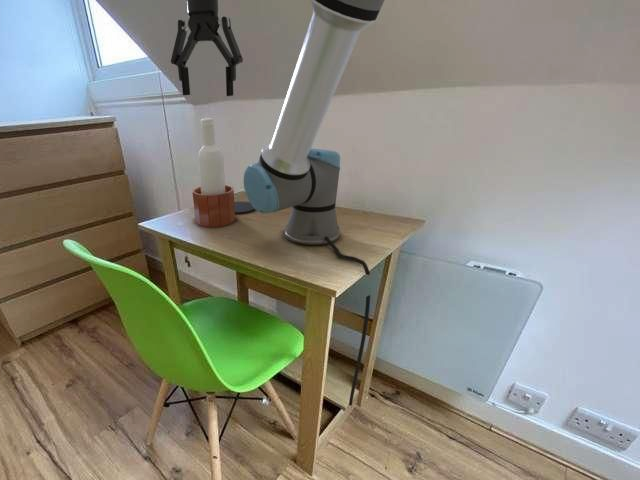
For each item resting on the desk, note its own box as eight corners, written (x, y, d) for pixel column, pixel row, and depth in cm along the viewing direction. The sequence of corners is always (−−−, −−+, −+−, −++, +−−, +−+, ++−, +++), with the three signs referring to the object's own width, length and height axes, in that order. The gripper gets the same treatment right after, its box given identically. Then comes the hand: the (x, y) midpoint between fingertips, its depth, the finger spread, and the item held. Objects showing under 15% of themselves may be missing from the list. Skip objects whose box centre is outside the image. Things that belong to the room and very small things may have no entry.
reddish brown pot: (242, 221, 111) (241, 190, 106) (207, 230, 106) (204, 197, 100) (222, 211, 121) (220, 182, 115) (189, 219, 115) (185, 189, 110)
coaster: (263, 208, 121) (263, 207, 121) (232, 216, 116) (232, 214, 115) (243, 201, 131) (243, 199, 130) (214, 207, 125) (214, 206, 125)
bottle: (229, 216, 116) (222, 116, 100) (225, 224, 109) (218, 119, 93) (206, 216, 117) (196, 118, 101) (201, 224, 110) (190, 120, 94)
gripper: (255, -10, 80) (254, 95, 92) (167, -1, 89) (176, 93, 101) (243, -16, 75) (243, 97, 87) (149, -6, 83) (162, 95, 95)
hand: (207, 95), depth 94 cm, fingers open, 13 cm apart
